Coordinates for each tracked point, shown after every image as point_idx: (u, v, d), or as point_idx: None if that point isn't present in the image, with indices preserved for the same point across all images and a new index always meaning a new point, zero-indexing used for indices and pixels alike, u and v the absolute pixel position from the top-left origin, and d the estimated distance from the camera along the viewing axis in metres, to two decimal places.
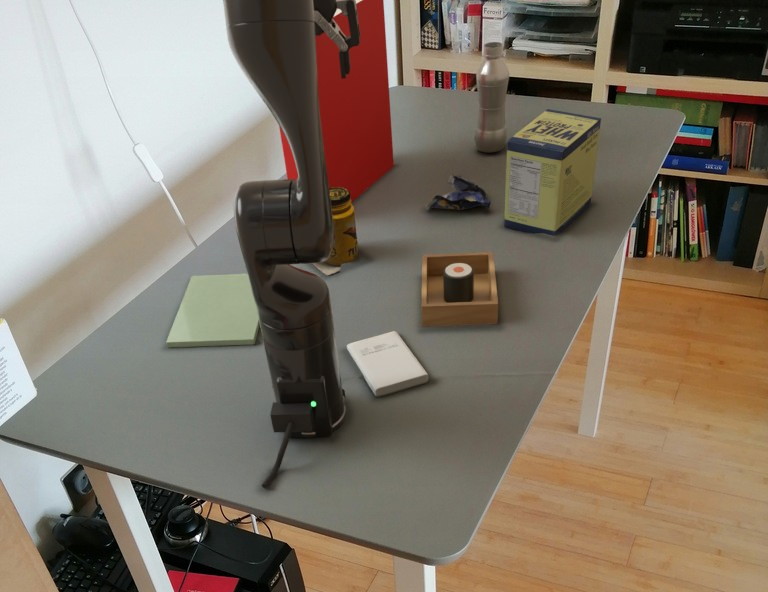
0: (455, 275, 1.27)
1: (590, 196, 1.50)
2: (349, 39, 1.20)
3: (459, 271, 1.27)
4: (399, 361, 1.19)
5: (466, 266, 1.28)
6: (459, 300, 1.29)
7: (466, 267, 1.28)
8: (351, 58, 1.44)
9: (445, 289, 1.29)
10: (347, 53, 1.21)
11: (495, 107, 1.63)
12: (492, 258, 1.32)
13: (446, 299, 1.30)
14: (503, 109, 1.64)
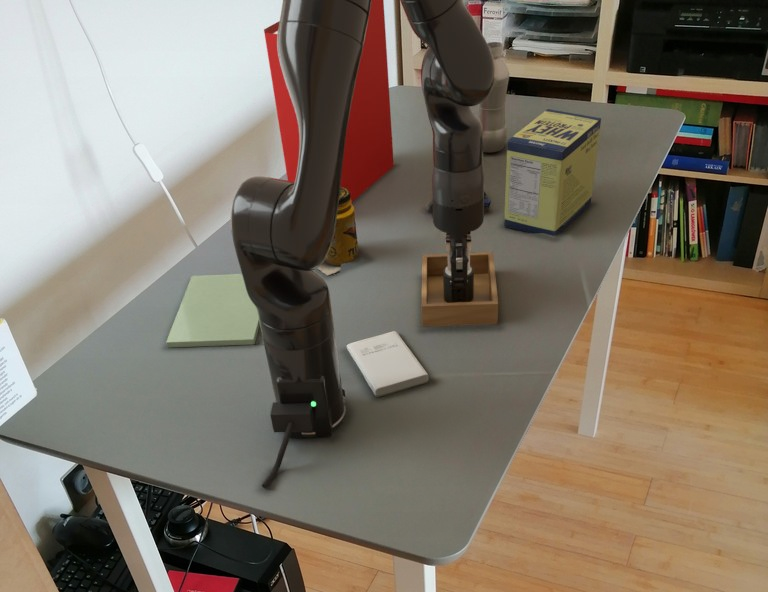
0: None
1: (590, 196, 1.50)
2: (454, 280, 1.25)
3: None
4: (399, 361, 1.19)
5: None
6: None
7: None
8: None
9: (445, 289, 1.29)
10: (454, 289, 1.26)
11: (495, 107, 1.63)
12: (492, 258, 1.32)
13: (446, 299, 1.30)
14: (503, 109, 1.64)
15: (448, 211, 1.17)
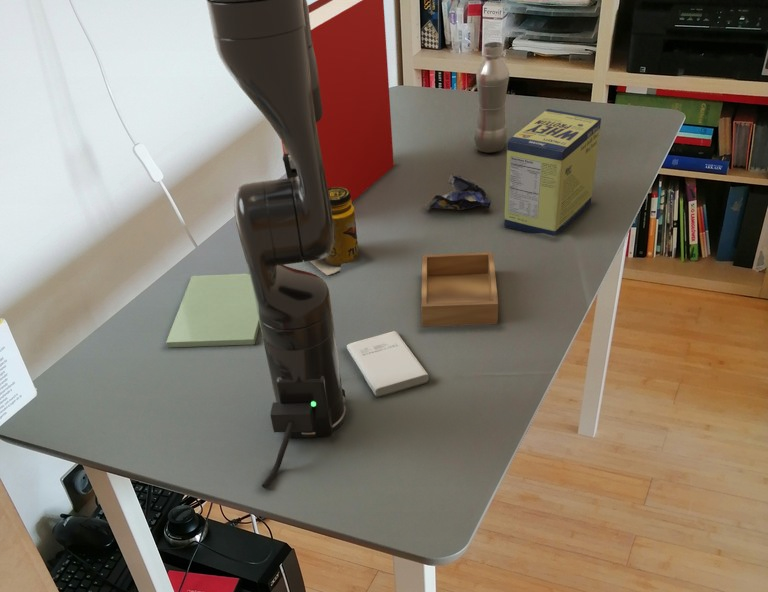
0: None
1: (590, 196, 1.50)
2: None
3: None
4: (399, 361, 1.19)
5: None
6: None
7: None
8: (351, 58, 1.44)
9: None
10: None
11: (495, 107, 1.63)
12: (492, 258, 1.32)
13: None
14: (503, 109, 1.64)
15: None
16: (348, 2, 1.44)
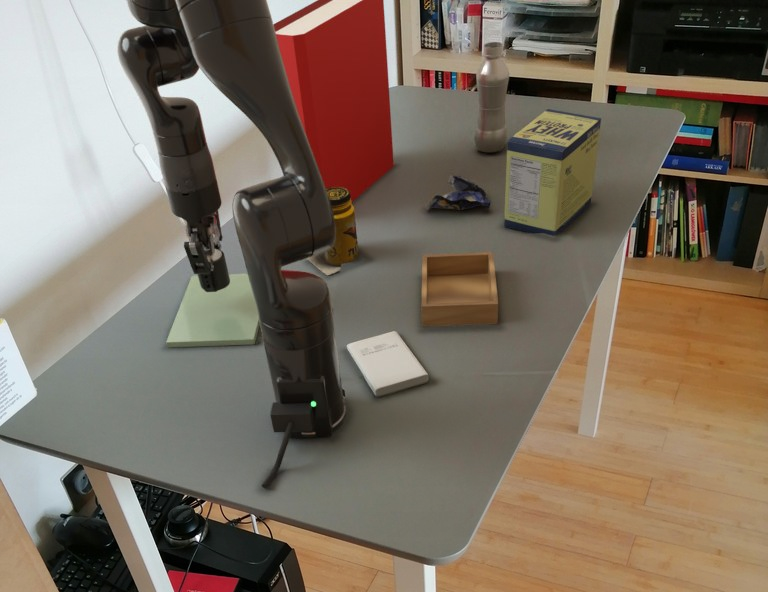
0: None
1: (590, 196, 1.50)
2: None
3: None
4: (399, 361, 1.19)
5: (217, 251, 1.28)
6: None
7: (216, 253, 1.28)
8: (351, 58, 1.44)
9: (198, 275, 1.29)
10: (201, 274, 1.26)
11: (495, 107, 1.63)
12: (492, 258, 1.32)
13: (201, 285, 1.30)
14: (503, 109, 1.64)
15: (176, 196, 1.17)
16: (348, 2, 1.44)
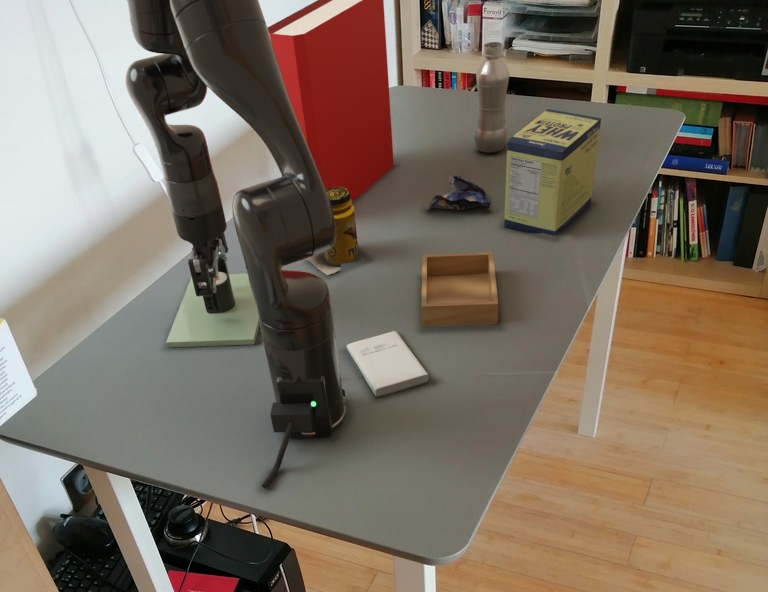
0: None
1: (590, 196, 1.50)
2: None
3: None
4: (399, 361, 1.19)
5: (223, 274, 1.31)
6: None
7: (222, 276, 1.31)
8: (351, 58, 1.44)
9: None
10: (204, 296, 1.27)
11: (495, 107, 1.63)
12: (492, 258, 1.32)
13: None
14: (503, 109, 1.64)
15: (182, 220, 1.20)
16: (348, 2, 1.44)
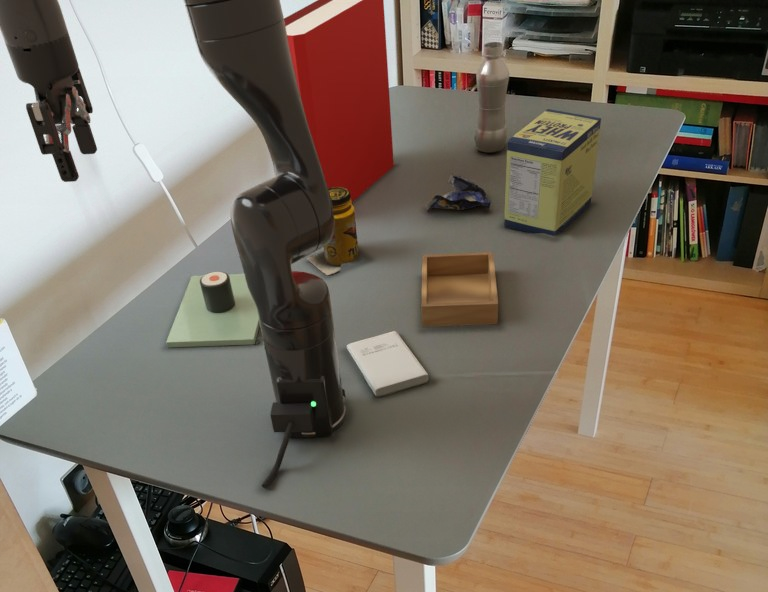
0: (209, 283, 1.30)
1: (590, 196, 1.50)
2: None
3: (214, 280, 1.30)
4: (399, 361, 1.19)
5: (223, 274, 1.31)
6: (217, 308, 1.32)
7: (222, 276, 1.31)
8: (351, 58, 1.44)
9: None
10: (54, 157, 1.04)
11: (495, 107, 1.63)
12: (492, 258, 1.32)
13: (206, 307, 1.33)
14: (503, 109, 1.64)
15: (17, 53, 0.97)
16: (348, 2, 1.44)
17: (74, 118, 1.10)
